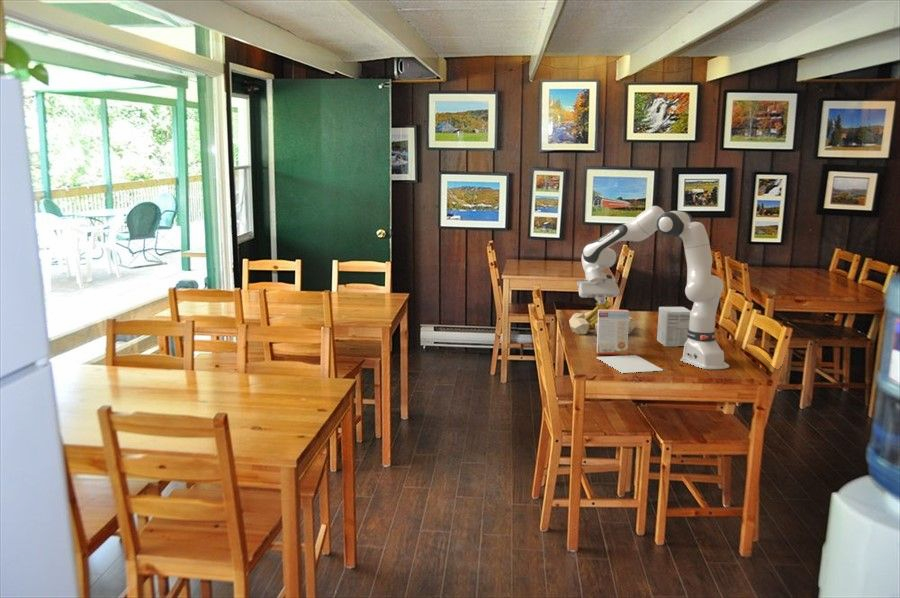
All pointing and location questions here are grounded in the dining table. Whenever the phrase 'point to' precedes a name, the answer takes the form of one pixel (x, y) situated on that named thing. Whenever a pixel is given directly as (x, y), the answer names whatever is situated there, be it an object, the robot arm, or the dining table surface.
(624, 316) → the cracker box
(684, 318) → the supplement box
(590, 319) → the campfire
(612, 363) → the felt mat
